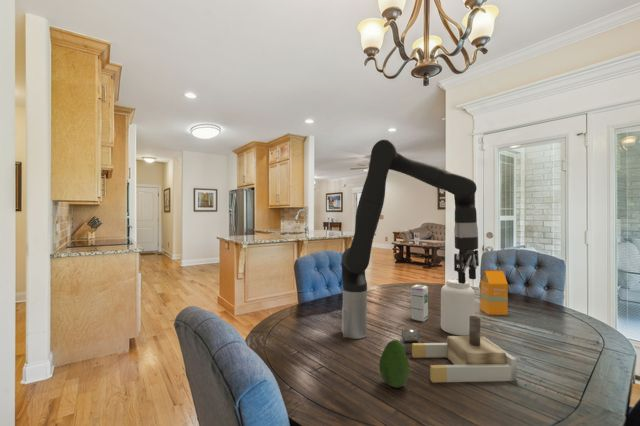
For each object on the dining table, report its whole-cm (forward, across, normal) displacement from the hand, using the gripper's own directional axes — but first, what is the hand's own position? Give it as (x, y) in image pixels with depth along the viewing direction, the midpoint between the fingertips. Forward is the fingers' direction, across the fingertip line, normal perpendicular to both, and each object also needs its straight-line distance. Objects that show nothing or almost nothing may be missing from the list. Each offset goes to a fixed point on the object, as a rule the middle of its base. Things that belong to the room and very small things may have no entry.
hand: (467, 281), depth 108 cm
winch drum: (+22, +19, -11) cm, 31 cm away
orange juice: (+25, -47, -8) cm, 54 cm away
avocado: (+21, +42, -2) cm, 47 cm away
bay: (+22, +18, +5) cm, 29 cm away
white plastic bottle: (+23, -11, -9) cm, 27 cm away
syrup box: (+23, -12, -26) cm, 37 cm away
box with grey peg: (+22, +15, +8) cm, 28 cm away
